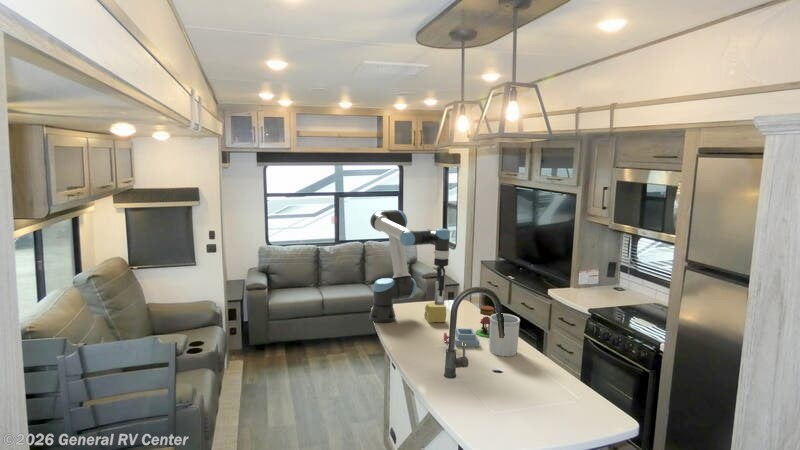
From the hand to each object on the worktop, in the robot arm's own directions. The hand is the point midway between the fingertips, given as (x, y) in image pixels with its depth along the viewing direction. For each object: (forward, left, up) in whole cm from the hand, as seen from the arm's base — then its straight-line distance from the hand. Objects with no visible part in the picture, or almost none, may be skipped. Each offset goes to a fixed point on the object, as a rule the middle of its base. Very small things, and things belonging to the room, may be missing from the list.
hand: (439, 300), depth 264 cm
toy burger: (-3, +27, -19) cm, 33 cm away
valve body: (+10, +11, -20) cm, 24 cm away
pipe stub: (0, 0, -2) cm, 2 cm away
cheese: (-23, +1, -19) cm, 31 cm away
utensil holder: (+22, +30, -19) cm, 42 cm away
